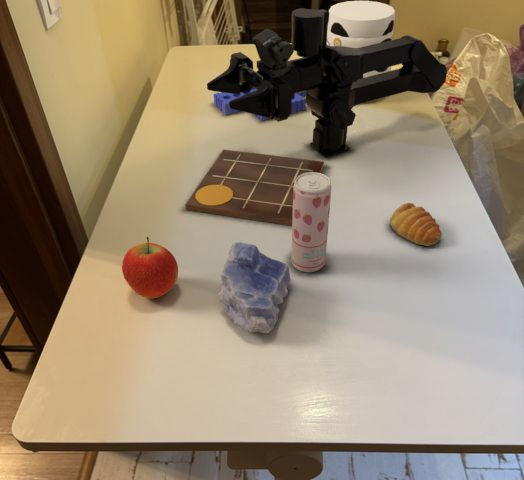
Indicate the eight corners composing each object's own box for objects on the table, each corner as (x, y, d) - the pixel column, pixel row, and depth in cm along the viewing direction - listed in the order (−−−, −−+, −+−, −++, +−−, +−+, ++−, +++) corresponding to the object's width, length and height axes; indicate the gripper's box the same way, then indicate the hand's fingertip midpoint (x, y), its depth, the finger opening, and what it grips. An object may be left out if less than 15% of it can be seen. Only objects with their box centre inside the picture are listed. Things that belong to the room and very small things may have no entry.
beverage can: (302, 277, 84) (306, 195, 73) (284, 258, 87) (286, 177, 76) (331, 266, 86) (340, 184, 75) (313, 248, 89) (318, 167, 78)
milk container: (305, 89, 134) (308, 8, 121) (355, 72, 141) (363, -6, 127) (351, 112, 125) (359, 27, 111) (402, 93, 131) (416, 11, 118)
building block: (223, 126, 121) (222, 115, 119) (206, 86, 137) (205, 76, 135) (325, 112, 124) (326, 102, 123) (297, 75, 140) (297, 65, 138)
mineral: (224, 230, 78) (290, 232, 76) (234, 274, 85) (294, 277, 84) (201, 302, 70) (274, 307, 68) (214, 344, 77) (280, 349, 75)
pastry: (449, 240, 90) (454, 221, 87) (420, 253, 88) (424, 235, 85) (412, 214, 95) (416, 196, 92) (383, 226, 93) (387, 208, 90)
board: (223, 154, 112) (223, 148, 111) (323, 166, 108) (324, 160, 106) (186, 210, 98) (185, 203, 97) (299, 227, 94) (299, 220, 92)
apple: (119, 294, 82) (103, 243, 75) (157, 269, 86) (145, 217, 79) (153, 317, 79) (140, 265, 71) (191, 289, 83) (182, 237, 75)
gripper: (268, 15, 97) (191, 30, 92) (322, 44, 86) (239, 63, 81) (268, 78, 105) (198, 95, 100) (318, 112, 94) (242, 133, 89)
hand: (218, 95), depth 93 cm, fingers open, 9 cm apart
